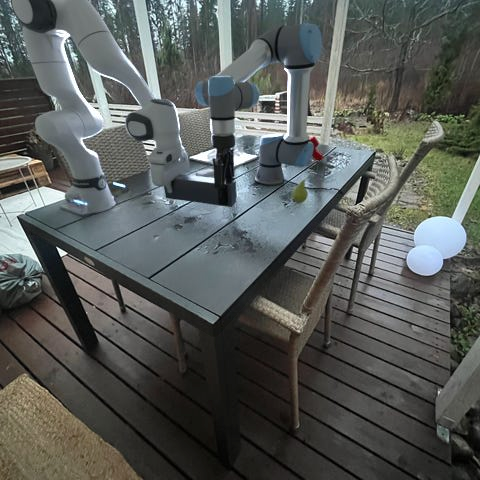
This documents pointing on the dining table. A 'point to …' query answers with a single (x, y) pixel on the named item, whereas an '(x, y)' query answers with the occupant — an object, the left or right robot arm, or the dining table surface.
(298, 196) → the fruit
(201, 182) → the bar
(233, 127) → the right robot arm
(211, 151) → the relief map
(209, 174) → the ink box
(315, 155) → the toy gun
